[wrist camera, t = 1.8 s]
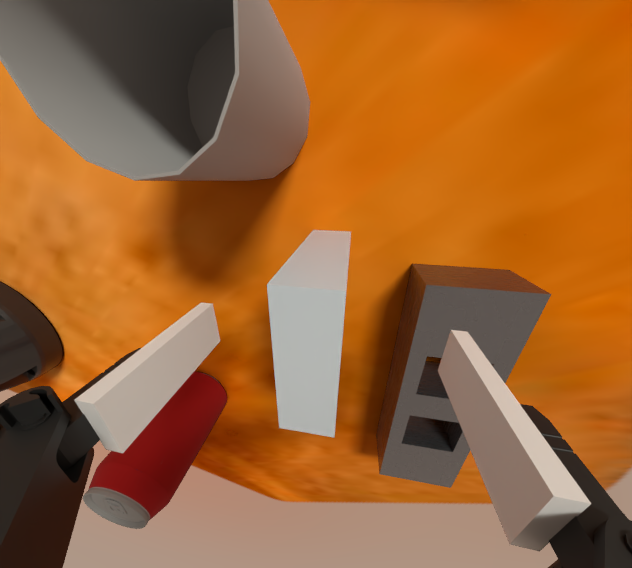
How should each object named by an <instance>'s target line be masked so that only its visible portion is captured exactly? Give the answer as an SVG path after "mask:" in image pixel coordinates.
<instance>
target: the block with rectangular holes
mask: <svg viewBox="0 0 632 568" xmlns="http://www.w3.org/2000/svg"><path fill="white" fill-rule="evenodd" d="M550 296H551V294H550V293H548V292H546V291H545V290H543V289H541V288H539V287H538V286H536V285H534V284H533V283H531V282H529V281H527V280H526V279H524V278H522V277H520V276H519V275H517V274H515V273H514V272H512V271H510V270H500V269H485V268H470V267H454V266H439V265H423V264H412V267H411V272H410V276H409V281H408V286H407V291H406V296H405V300H404V305H403V310H402V315H401V319H400V324H399V329H398V334H397V339H396V343H395V348H394V353H393V358H392V363H391V367H390V372H389V377H388V382H387V386H386V391H385V396H384V401H383V406H382V410H381V415H380V420H379V425H378V430H377V434H376V437H377V449H378V461H379V473H380V474H382V475H387V476H393V477H398V478H403V479H408V480H413V481H419V482H424V483H429V484H434V485H440V486H445V487H450V488H451V486H452V484H453V482H454V480H455V478H456V477H457V475H458V473H459V471H460V469H461V467H462V465H463V463H464V461H465V459H466V457H467V455H468V453H469V452H470V447H469V445H468V443H467V440H466V438H465V435H464V433H463V431H462V428H461V426H460V423H459V421H458V418H457V416H456V414H455V411H454V409H453V406H452V404H451V402H450V399H449V397H448V394H447V392H446V390H445V387H444V385H443V382H442V380H441V377H440V375H439V373H438V368H439V365H440V363H436V362H427V361H426V358H427V356H429V357H437V358H442V356H443V353H444V350H445V347H446V344H447V341H448V337H449V334H450V331H451V330H457V331H466V332H468V333H469V334H470V336H471V337H472V339H473V340H474V341H475V343H476V344H477V345H478V347H479V348H480V350H481V351H482V352H483V354H484V355H485V357H486V358H487V359H488V361H489V362H490V364H491V365H492V366H493V368H494V369H495V370H496V372H497V373H498V375H499V376H500V377H501V379H502V380H503V382H504V383H505V382H506V380H507V378H508V377H509V375H510V373H511V371H512V369H513V367H514V365H515V363H516V361H517V359H518V357H519V355H520V353H521V351H522V350H523V348H524V346H525V344H526V342H527V340H528V338H529V336H530V334H531V332H532V330H533V328H534V326H535V325H536V323H537V321H538V319H539V317H540V315H541V313H542V311H543V309H544V307H545V305H546V303H547V301H548V300H549V298H550Z"/></svg>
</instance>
